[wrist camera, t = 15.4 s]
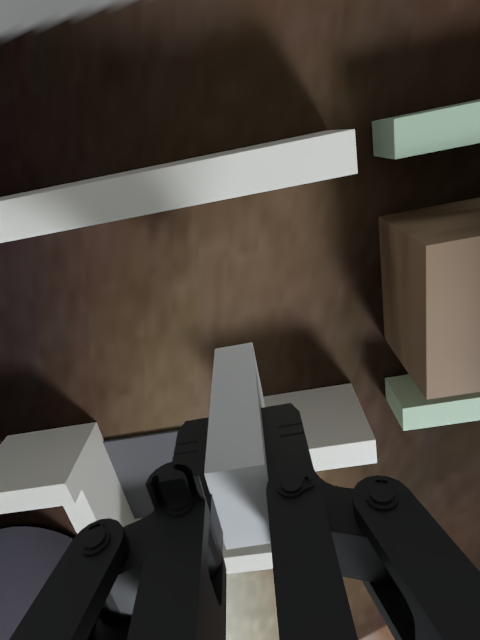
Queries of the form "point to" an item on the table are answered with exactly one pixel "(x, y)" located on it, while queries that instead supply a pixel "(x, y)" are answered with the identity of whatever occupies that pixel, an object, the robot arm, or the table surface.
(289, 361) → the table surface
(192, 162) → the white walled enclosure
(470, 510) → the table surface
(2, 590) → the lavender cylinder
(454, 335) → the block
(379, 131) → the rails
